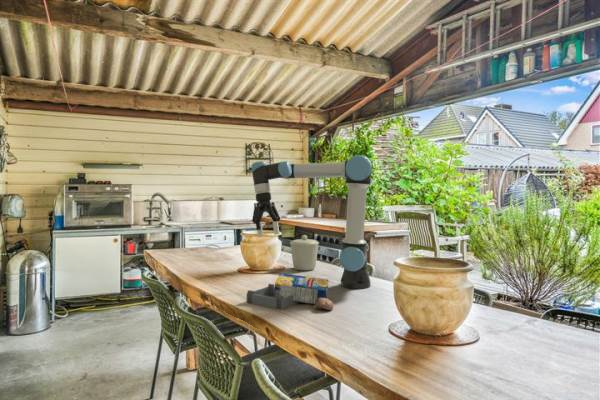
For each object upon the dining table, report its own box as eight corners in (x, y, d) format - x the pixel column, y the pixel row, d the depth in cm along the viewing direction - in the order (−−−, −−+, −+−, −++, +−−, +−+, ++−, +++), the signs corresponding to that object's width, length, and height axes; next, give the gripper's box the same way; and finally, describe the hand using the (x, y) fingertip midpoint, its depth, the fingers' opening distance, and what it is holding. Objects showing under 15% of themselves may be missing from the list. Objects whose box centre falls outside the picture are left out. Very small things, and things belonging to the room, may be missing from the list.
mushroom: (314, 313, 162) (334, 308, 162) (311, 297, 165) (330, 293, 165) (316, 315, 169) (334, 310, 169) (312, 300, 172) (331, 295, 172)
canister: (319, 272, 243) (319, 236, 242) (289, 272, 243) (289, 236, 242) (318, 266, 261) (318, 233, 260) (290, 266, 261) (290, 233, 261)
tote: (303, 300, 180) (303, 288, 180) (282, 309, 167) (282, 296, 167) (269, 294, 191) (269, 283, 191) (246, 302, 177) (246, 290, 177)
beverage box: (274, 283, 173) (326, 290, 171) (279, 272, 184) (328, 279, 181) (273, 298, 175) (325, 305, 172) (278, 286, 185) (327, 293, 183)
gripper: (271, 194, 216) (277, 234, 214) (240, 194, 195) (247, 238, 193) (283, 191, 212) (289, 232, 210) (253, 191, 191) (259, 236, 189)
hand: (269, 235), depth 202 cm, fingers open, 13 cm apart
